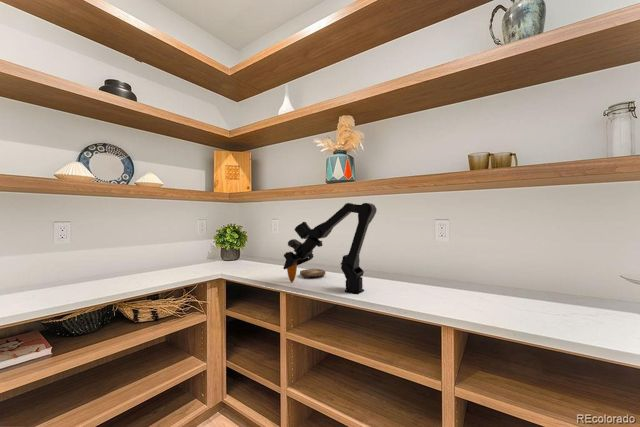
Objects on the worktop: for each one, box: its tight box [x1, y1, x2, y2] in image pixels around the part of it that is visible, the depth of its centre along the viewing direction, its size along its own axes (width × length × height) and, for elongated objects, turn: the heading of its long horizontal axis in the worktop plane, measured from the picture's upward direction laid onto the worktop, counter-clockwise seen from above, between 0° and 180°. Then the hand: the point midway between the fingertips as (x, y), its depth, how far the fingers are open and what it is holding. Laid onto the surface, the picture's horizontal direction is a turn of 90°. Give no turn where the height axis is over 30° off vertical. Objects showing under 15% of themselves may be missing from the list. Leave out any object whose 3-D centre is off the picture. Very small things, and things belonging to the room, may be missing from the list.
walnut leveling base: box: [299, 268, 326, 279], centre depth 147 cm, size 14×14×3 cm
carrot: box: [286, 252, 298, 283], centre depth 133 cm, size 5×5×15 cm
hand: (289, 267), depth 134 cm, fingers open, 9 cm apart
